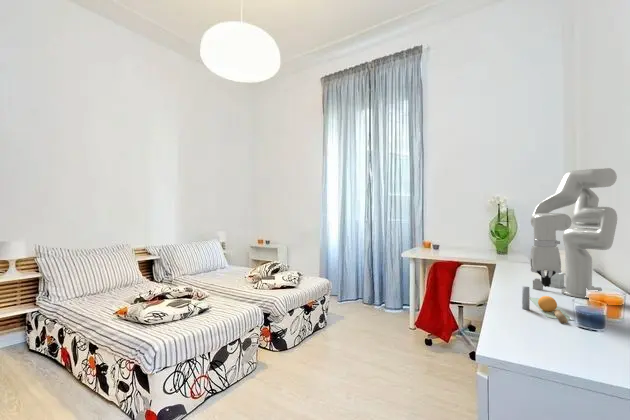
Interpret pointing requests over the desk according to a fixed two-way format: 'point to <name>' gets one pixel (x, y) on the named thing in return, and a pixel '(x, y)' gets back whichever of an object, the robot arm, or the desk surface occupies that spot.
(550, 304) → the ball
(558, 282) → the skincare box
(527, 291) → the grey pin
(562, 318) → the maple pin
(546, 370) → the desk surface
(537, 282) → the grey stepped block
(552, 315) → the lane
